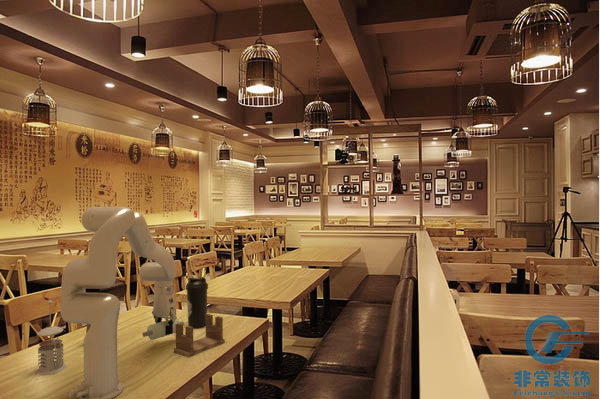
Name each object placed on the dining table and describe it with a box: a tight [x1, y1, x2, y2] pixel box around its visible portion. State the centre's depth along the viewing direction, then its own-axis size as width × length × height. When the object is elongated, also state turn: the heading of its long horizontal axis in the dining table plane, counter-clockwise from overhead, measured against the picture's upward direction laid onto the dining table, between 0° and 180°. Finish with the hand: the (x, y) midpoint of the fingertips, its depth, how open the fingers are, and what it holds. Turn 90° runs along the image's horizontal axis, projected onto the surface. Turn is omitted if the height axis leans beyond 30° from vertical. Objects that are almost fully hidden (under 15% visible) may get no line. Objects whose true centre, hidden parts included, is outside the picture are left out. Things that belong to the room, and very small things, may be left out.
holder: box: [173, 313, 226, 358], centre depth 169 cm, size 19×9×11 cm, turn 144°
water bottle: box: [185, 276, 209, 330], centre depth 197 cm, size 10×10×23 cm
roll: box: [142, 318, 185, 341], centre depth 172 cm, size 19×6×6 cm, turn 144°
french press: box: [34, 299, 68, 376], centre depth 148 cm, size 10×12×25 cm
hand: (164, 332), depth 172 cm, fingers closed on roll, 6 cm apart
